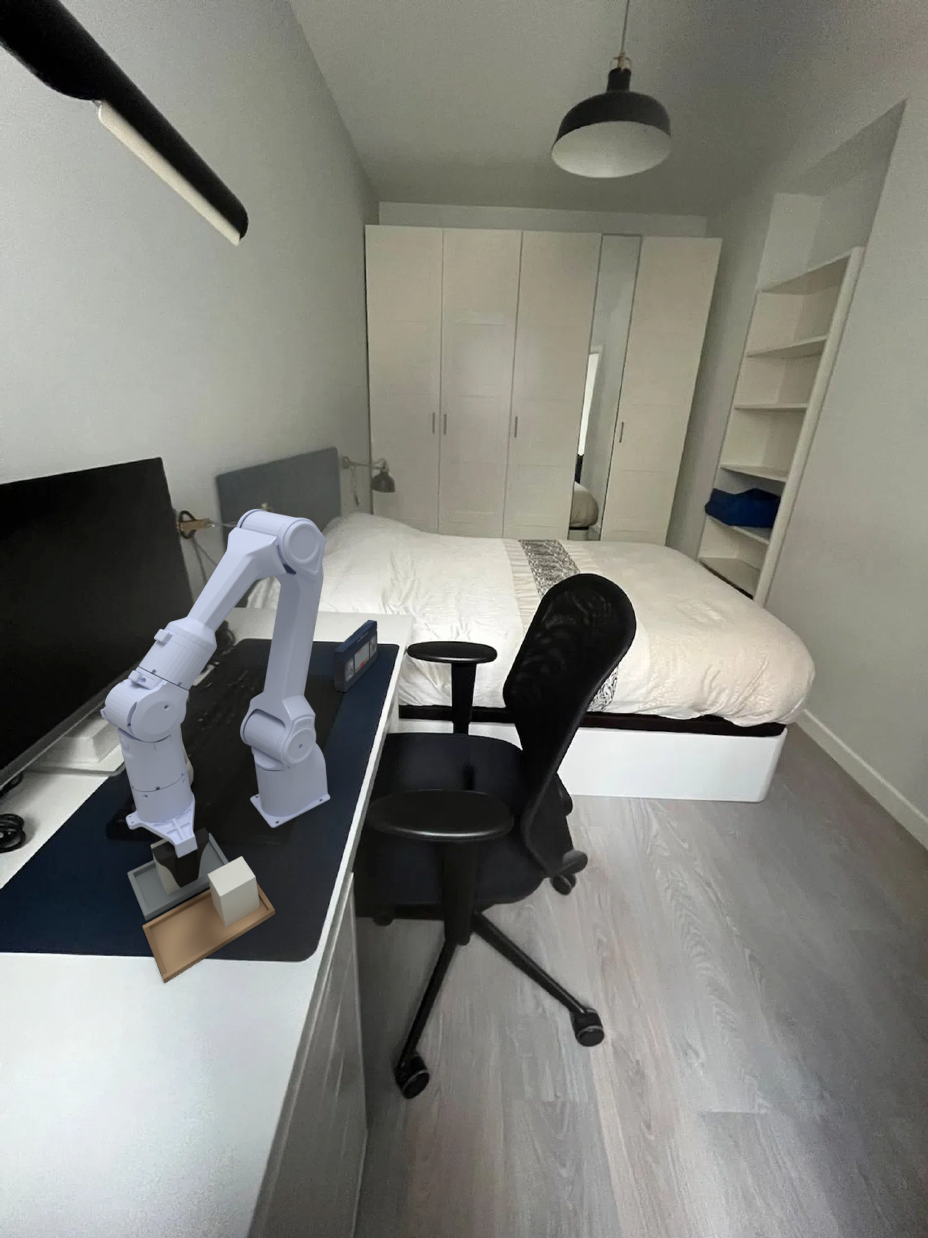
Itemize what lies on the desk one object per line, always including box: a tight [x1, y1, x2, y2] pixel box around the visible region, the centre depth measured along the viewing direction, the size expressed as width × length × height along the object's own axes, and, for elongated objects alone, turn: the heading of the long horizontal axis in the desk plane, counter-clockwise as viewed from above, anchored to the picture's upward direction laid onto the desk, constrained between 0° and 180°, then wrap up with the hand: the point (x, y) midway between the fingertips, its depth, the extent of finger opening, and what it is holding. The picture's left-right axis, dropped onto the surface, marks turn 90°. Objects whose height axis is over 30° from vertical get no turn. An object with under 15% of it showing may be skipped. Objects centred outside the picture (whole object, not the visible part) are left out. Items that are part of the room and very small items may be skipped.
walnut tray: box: [142, 881, 276, 984], centre depth 60 cm, size 12×8×1 cm, turn 134°
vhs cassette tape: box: [332, 619, 379, 693], centre depth 116 cm, size 18×3×10 cm, turn 165°
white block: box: [150, 839, 202, 895], centre depth 64 cm, size 4×4×5 cm
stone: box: [208, 856, 260, 928], centre depth 61 cm, size 4×4×5 cm
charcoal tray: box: [127, 832, 230, 922], centre depth 65 cm, size 10×8×1 cm
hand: (178, 862), depth 64 cm, fingers open, 7 cm apart
